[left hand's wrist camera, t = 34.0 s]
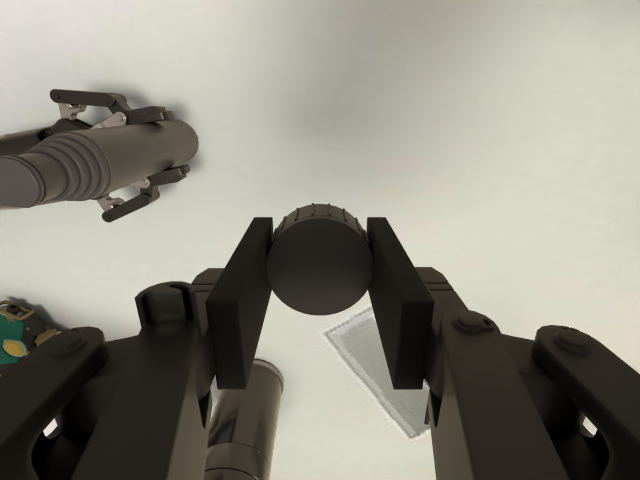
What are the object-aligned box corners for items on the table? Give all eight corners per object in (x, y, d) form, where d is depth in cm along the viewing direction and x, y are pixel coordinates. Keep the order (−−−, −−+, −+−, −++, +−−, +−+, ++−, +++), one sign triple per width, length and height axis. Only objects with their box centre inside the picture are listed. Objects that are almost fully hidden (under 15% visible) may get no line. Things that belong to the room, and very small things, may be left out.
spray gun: (59, 400, 58) (-24, 349, 54) (107, 347, 52) (17, 286, 49) (38, 422, 54) (-53, 368, 50) (87, 368, 48) (-11, 303, 45)
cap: (251, 238, 14) (241, 257, 12) (332, 182, 13) (334, 194, 12) (308, 306, 15) (307, 333, 14) (386, 260, 15) (395, 282, 13)
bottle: (206, 140, 41) (71, 181, 19) (183, 169, 42) (32, 240, 20) (173, 111, 40) (-13, 119, 18) (150, 141, 41) (-49, 185, 19)
